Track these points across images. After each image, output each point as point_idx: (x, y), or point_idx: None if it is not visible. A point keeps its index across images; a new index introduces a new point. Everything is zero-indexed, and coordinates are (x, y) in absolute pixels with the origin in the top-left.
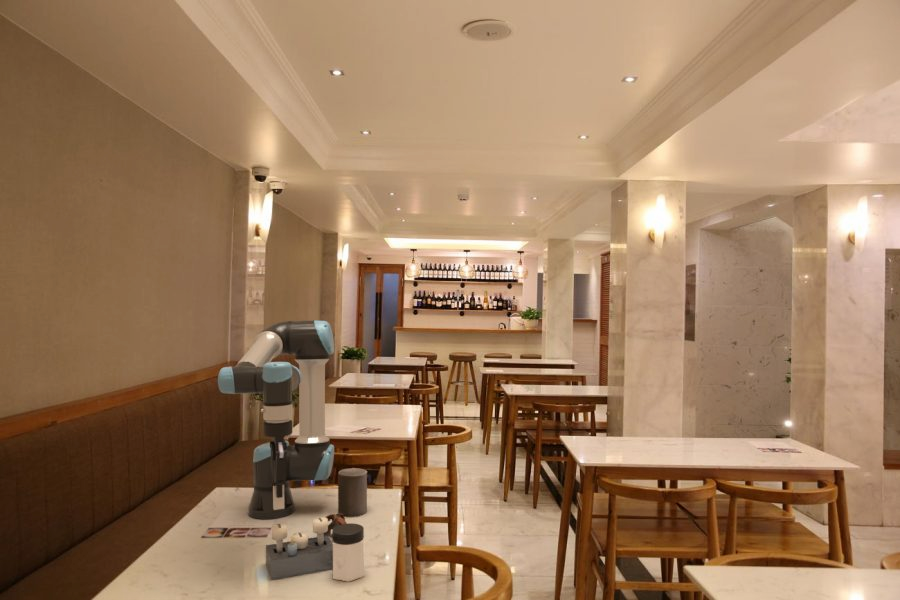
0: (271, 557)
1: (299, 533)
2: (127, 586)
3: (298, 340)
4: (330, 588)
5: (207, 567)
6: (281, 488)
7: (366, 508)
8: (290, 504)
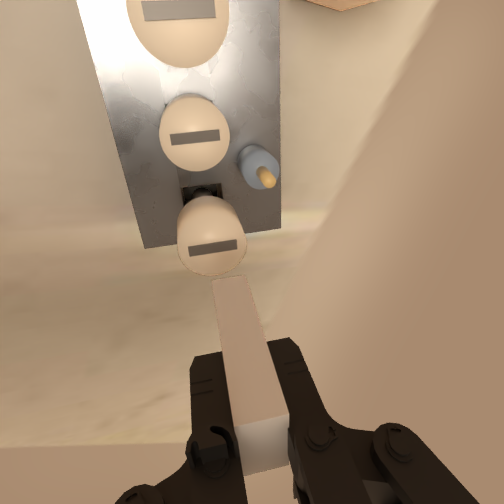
0: (256, 227)
1: (180, 140)
2: None
3: None
4: (392, 36)
5: (140, 343)
6: (317, 399)
7: None
8: None
